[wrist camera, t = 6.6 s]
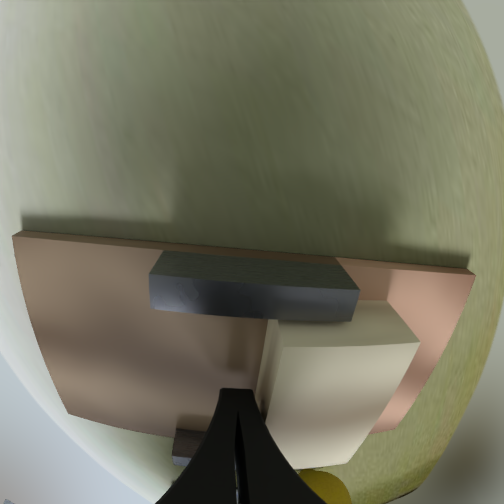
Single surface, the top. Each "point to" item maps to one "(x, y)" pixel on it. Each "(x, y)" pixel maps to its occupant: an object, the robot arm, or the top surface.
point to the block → (331, 381)
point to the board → (191, 329)
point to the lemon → (326, 486)
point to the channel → (247, 298)
